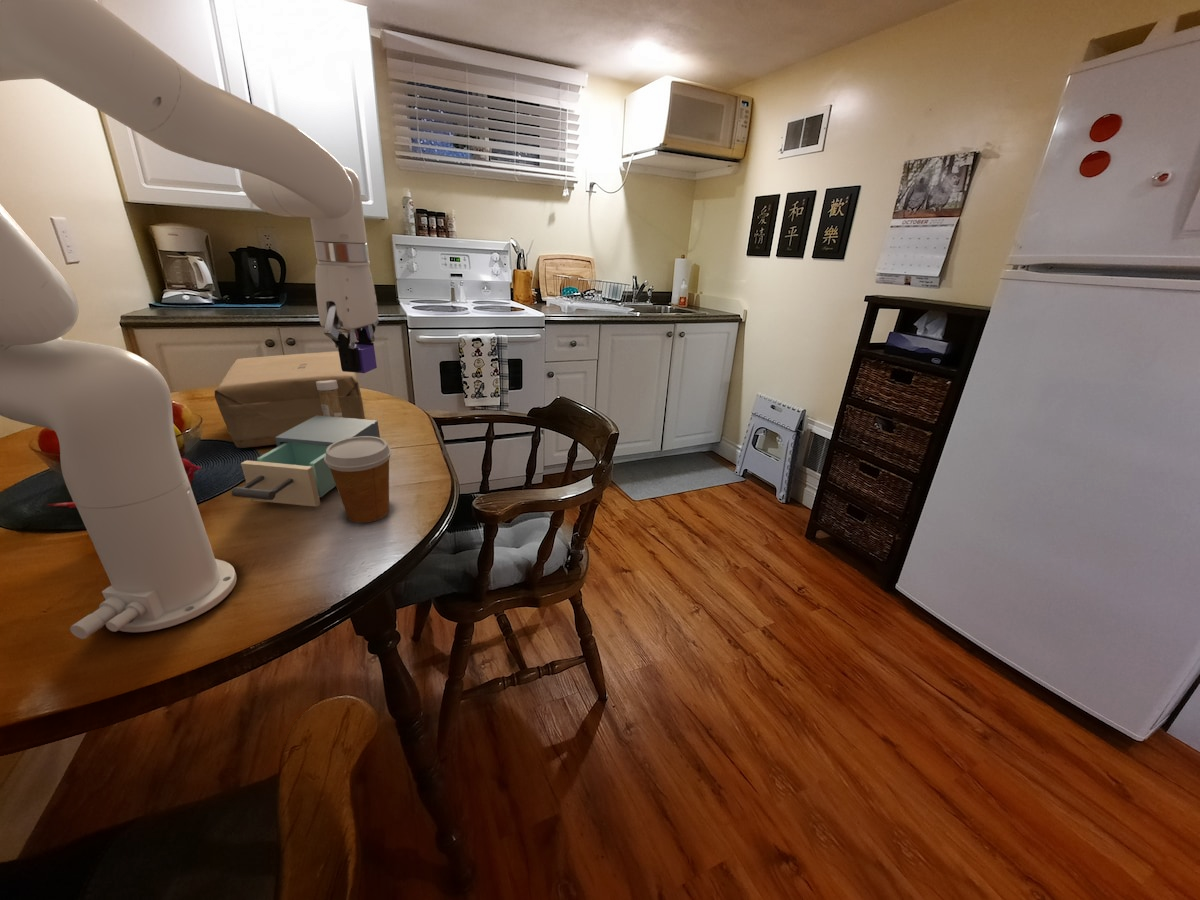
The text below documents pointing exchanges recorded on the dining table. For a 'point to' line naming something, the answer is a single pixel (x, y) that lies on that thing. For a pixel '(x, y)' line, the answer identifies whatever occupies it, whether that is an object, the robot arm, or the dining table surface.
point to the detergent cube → (366, 358)
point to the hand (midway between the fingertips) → (359, 366)
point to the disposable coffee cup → (361, 476)
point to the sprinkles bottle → (329, 398)
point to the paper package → (281, 394)
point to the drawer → (288, 475)
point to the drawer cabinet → (328, 430)
